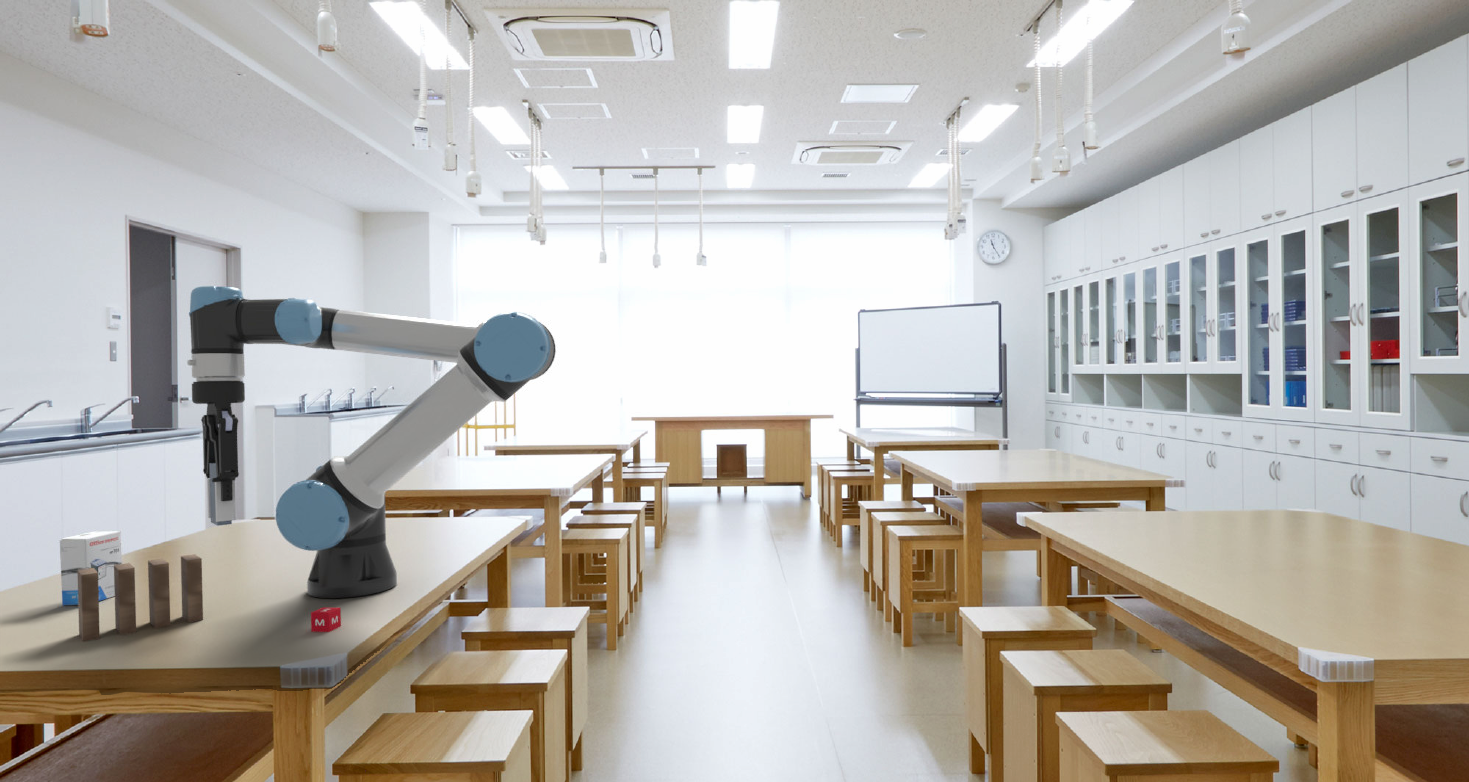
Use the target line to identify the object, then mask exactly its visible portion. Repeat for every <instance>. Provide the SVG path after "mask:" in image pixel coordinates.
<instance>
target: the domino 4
mask: <svg viewBox="0 0 1469 782" xmlns="http://www.w3.org/2000/svg"><path fill="white" fill-rule="evenodd" d="M209 468H210V478H209V479H210V507H211V518H210V523H211V524H213V525H216V526H217V527H218V526H227V525H228V526H229V525H232V523H233V520H229V521H220V522H216V506H215V482H212V479H213V478H216V477H217V473H216V463H209Z"/></svg>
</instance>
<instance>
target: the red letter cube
mask: <svg viewBox="0 0 1469 782" xmlns="http://www.w3.org/2000/svg"><path fill="white" fill-rule="evenodd" d="M341 611H342V610H341V607H328V606H327V607H324V606H323V607H321V608H318V609H316V610H314V611H311V612H310V623H311V624H310V625H311V626H310V627H311V628H310V631H311V632H313V633H314V632H316V633H317V632H318V633H319V632H321V633H329V632H332V631H334V630H336V629H338V627H339V628H340V626H341V627H342V618H341V617H342V615H341Z"/></svg>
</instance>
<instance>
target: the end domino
mask: <svg viewBox="0 0 1469 782" xmlns="http://www.w3.org/2000/svg"><path fill="white" fill-rule="evenodd" d="M77 572H78V605H77V607H78V632H79V633H78V635H79V637H80V639H81V640H82V642H88V641H93V640H99V639H100V638H101V637H100V634H101V633H100V604H99V603H100V601H99V593H98V572H97V571H96V570H95V569H94V568H88V569H81V570H77Z"/></svg>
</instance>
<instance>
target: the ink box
mask: <svg viewBox="0 0 1469 782" xmlns="http://www.w3.org/2000/svg"><path fill="white" fill-rule="evenodd" d="M59 555H60V574H61V575H60V579H61V582H60V583H61V600H62V601H61V602H62V603H61V604H62V606H78V572H77V570H81V569H88V568H94V569H95V570H96V571H97V572H98V593H99V602H100V601H103V600H108V599H110V598H112V597H115V588H114V565H119V564H123V558H122V557H123V555H122V535H121V531H120V530H118V531H117V530H115V531H114V530H113V531H110V530H107V531H106V530H105V531H104V530H103V531H102V530H101V531H100V530H99V531H96V530H95V531H90V532H86V533H81V534H77V535H72V536H67V537H63V538H61V539H60V540H59Z"/></svg>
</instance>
